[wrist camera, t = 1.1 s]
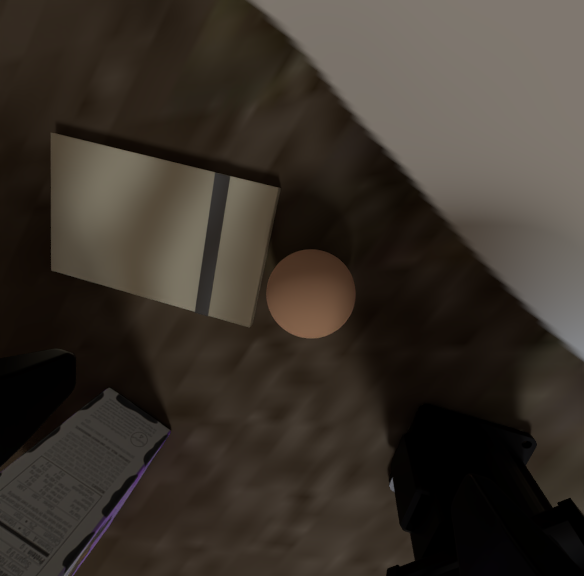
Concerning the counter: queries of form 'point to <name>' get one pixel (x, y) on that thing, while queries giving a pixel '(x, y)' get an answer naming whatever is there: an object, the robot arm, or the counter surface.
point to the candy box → (73, 486)
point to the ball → (311, 293)
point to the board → (159, 228)
